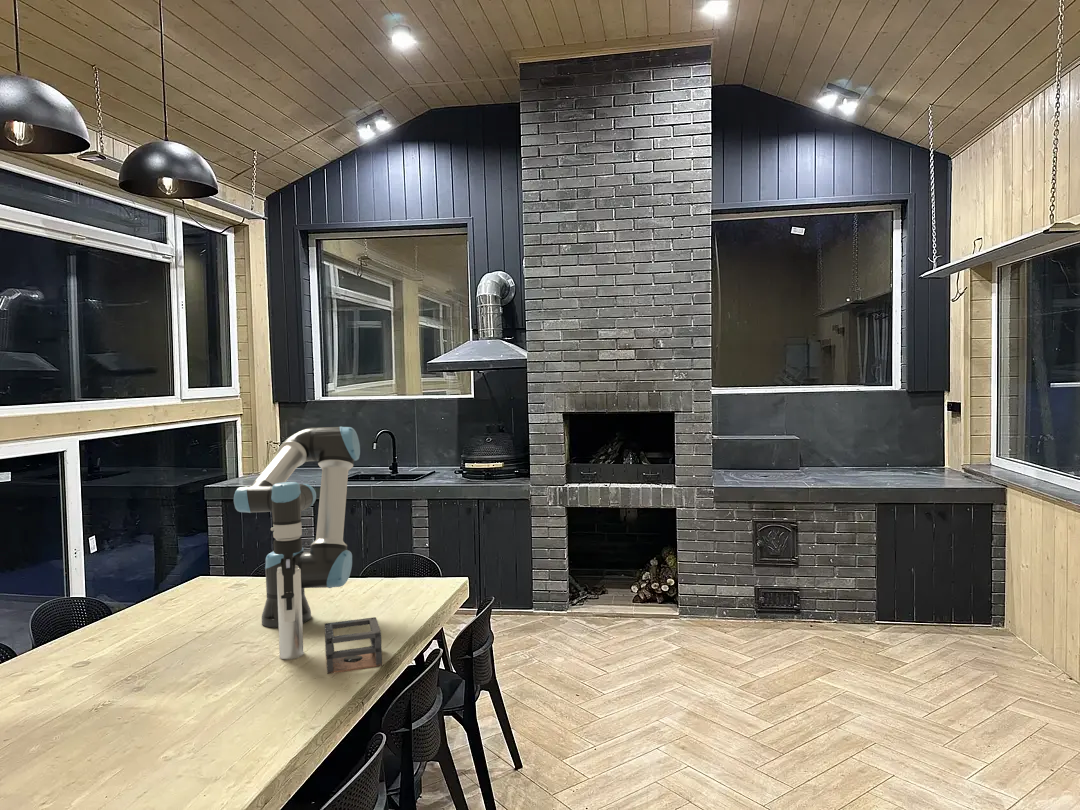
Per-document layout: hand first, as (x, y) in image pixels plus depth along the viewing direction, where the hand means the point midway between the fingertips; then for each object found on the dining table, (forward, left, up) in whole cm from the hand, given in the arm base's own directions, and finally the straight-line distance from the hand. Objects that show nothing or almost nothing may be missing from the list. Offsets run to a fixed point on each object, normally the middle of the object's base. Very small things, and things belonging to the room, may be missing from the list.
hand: (290, 614), depth 199 cm
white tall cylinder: (0, 0, -12) cm, 12 cm away
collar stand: (+11, +16, -12) cm, 23 cm away
